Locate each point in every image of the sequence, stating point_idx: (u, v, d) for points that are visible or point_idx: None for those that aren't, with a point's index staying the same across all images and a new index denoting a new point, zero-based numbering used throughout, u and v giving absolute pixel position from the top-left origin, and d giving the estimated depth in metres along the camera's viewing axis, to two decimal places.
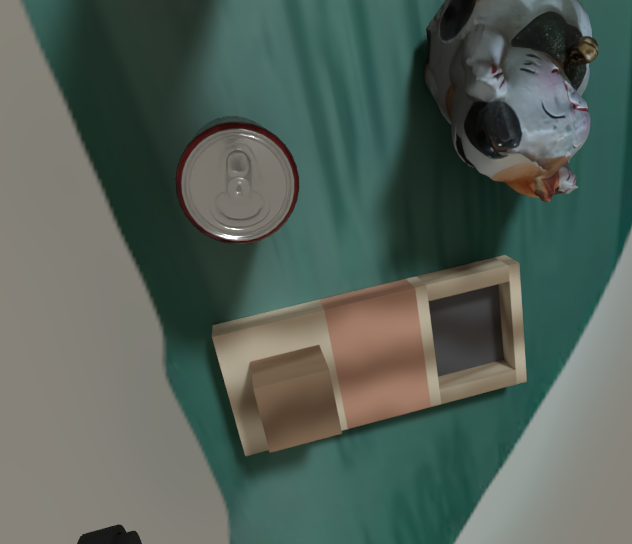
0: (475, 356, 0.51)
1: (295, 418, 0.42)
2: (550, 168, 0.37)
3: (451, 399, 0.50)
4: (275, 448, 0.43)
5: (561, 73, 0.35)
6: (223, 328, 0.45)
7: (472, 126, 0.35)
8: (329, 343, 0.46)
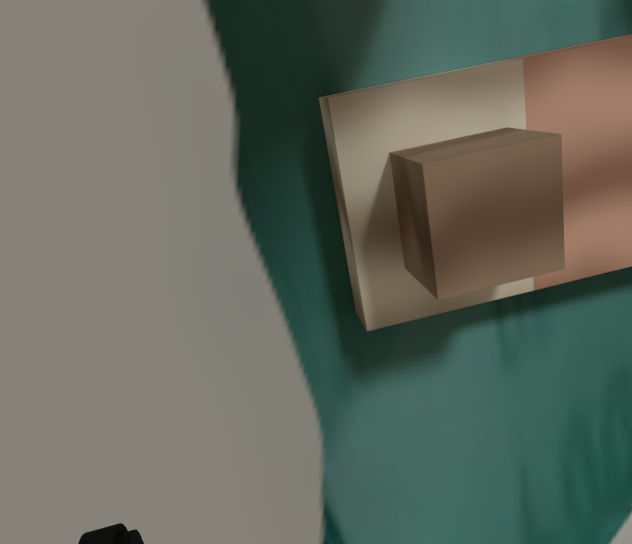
0: None
1: (489, 233, 0.23)
2: None
3: None
4: (448, 291, 0.23)
5: None
6: (341, 93, 0.26)
7: None
8: (523, 126, 0.26)
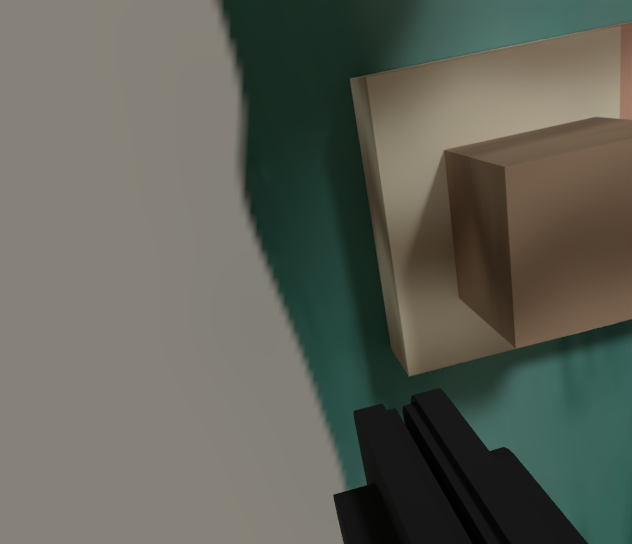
0: None
1: (588, 259, 0.17)
2: None
3: None
4: (530, 337, 0.17)
5: None
6: (381, 72, 0.20)
7: None
8: (616, 115, 0.20)
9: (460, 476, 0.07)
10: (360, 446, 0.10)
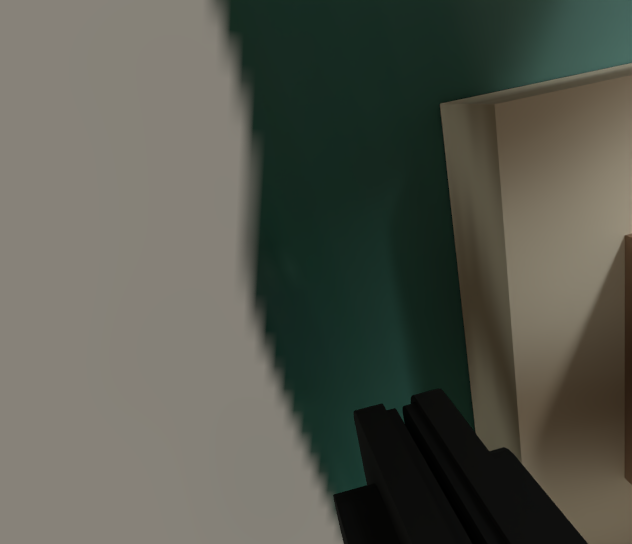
0: None
1: None
2: None
3: None
4: None
5: None
6: (507, 94, 0.11)
7: None
8: None
9: (460, 476, 0.07)
10: (360, 446, 0.10)
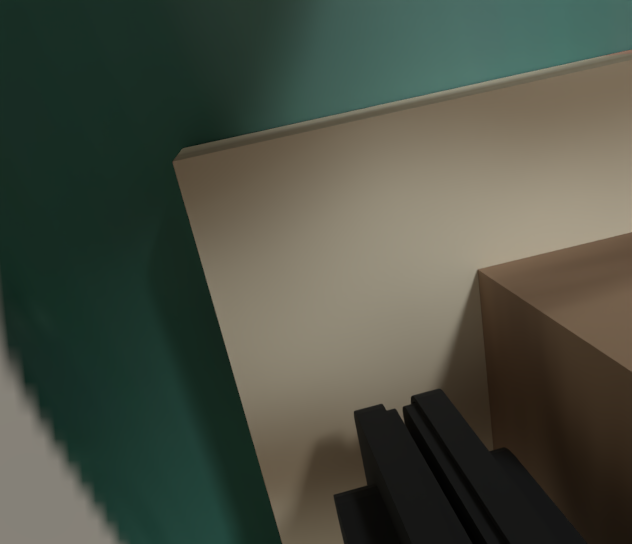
0: None
1: None
2: None
3: None
4: None
5: None
6: (226, 143, 0.10)
7: None
8: None
9: (460, 476, 0.07)
10: (360, 446, 0.10)
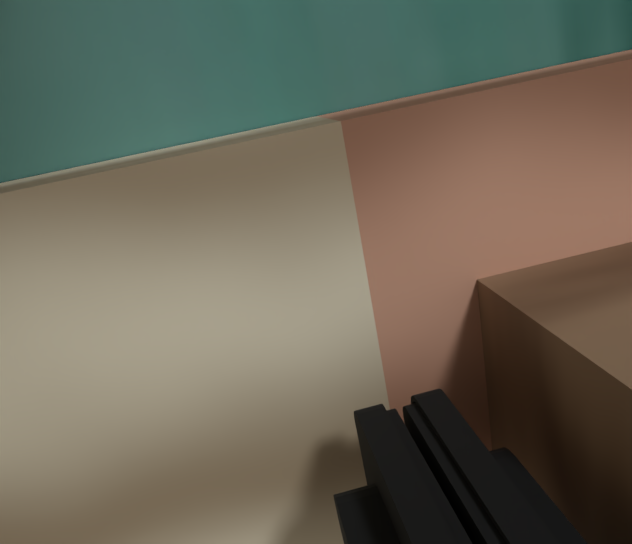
0: None
1: None
2: None
3: None
4: None
5: None
6: None
7: None
8: (363, 289, 0.10)
9: (460, 476, 0.07)
10: (360, 446, 0.10)
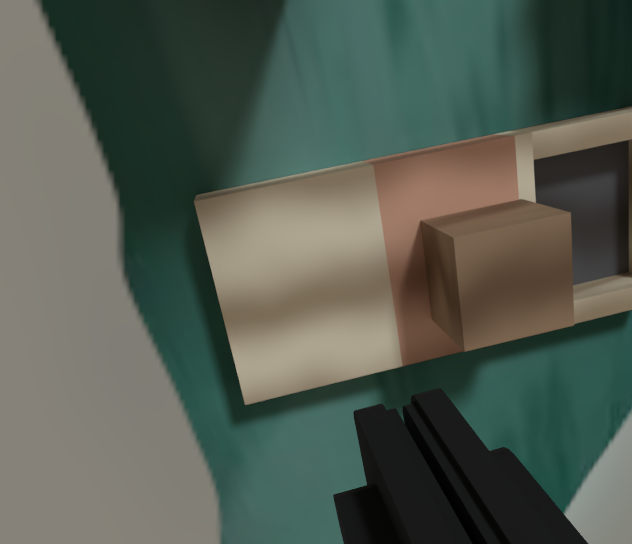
0: (588, 265, 0.35)
1: (509, 295, 0.27)
2: None
3: None
4: (474, 344, 0.27)
5: None
6: (212, 194, 0.29)
7: None
8: (379, 222, 0.29)
9: (460, 476, 0.07)
10: (360, 446, 0.10)
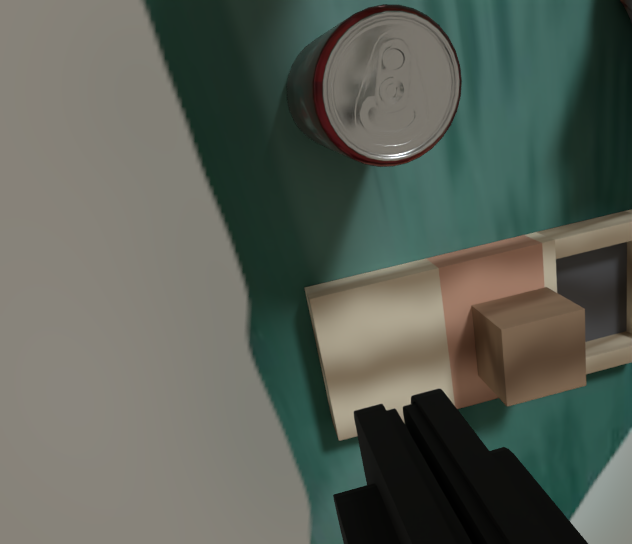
0: (595, 327, 0.45)
1: (540, 366, 0.37)
2: None
3: None
4: (513, 401, 0.37)
5: None
6: (319, 290, 0.39)
7: None
8: (441, 308, 0.39)
9: (460, 476, 0.07)
10: (360, 446, 0.10)
